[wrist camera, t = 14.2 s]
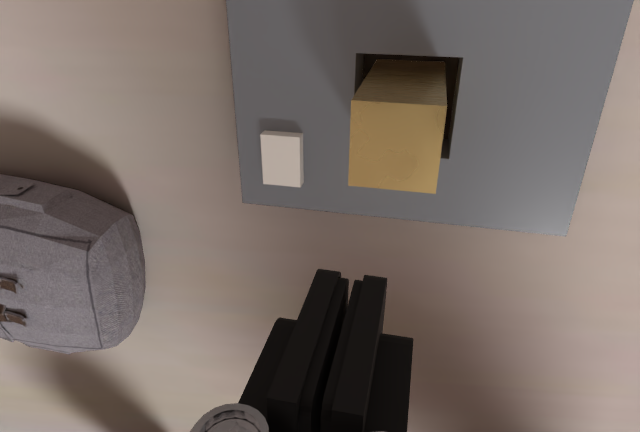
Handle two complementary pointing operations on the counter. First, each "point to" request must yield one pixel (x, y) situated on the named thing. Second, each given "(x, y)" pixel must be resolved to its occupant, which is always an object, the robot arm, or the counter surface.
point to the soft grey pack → (67, 268)
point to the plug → (398, 126)
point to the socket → (467, 112)
